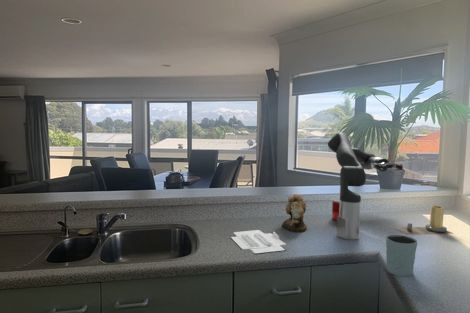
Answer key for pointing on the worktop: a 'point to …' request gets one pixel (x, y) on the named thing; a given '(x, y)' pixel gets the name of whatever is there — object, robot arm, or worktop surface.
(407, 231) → the walnut board
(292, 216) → the brown bust statue
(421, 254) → the worktop surface
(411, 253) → the pale green pot
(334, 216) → the canned food
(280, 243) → the white paper stack
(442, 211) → the brass sleeve
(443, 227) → the disc
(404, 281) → the worktop surface
